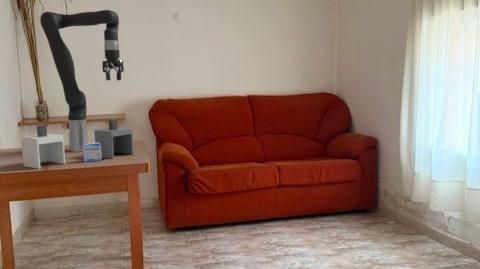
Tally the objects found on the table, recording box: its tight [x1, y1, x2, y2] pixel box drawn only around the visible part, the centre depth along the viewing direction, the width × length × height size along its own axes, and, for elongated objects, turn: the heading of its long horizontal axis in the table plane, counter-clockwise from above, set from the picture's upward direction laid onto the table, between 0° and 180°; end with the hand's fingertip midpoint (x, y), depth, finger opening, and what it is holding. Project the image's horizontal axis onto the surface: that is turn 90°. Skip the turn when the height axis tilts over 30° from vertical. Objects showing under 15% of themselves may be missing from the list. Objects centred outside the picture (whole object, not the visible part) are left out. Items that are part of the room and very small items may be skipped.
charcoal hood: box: [94, 118, 134, 160], centre depth 237 cm, size 13×13×19 cm
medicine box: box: [82, 142, 103, 163], centre depth 225 cm, size 8×4×9 cm, turn 117°
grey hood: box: [20, 124, 66, 170], centre depth 217 cm, size 13×13×19 cm
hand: (113, 80), depth 247 cm, fingers open, 8 cm apart
